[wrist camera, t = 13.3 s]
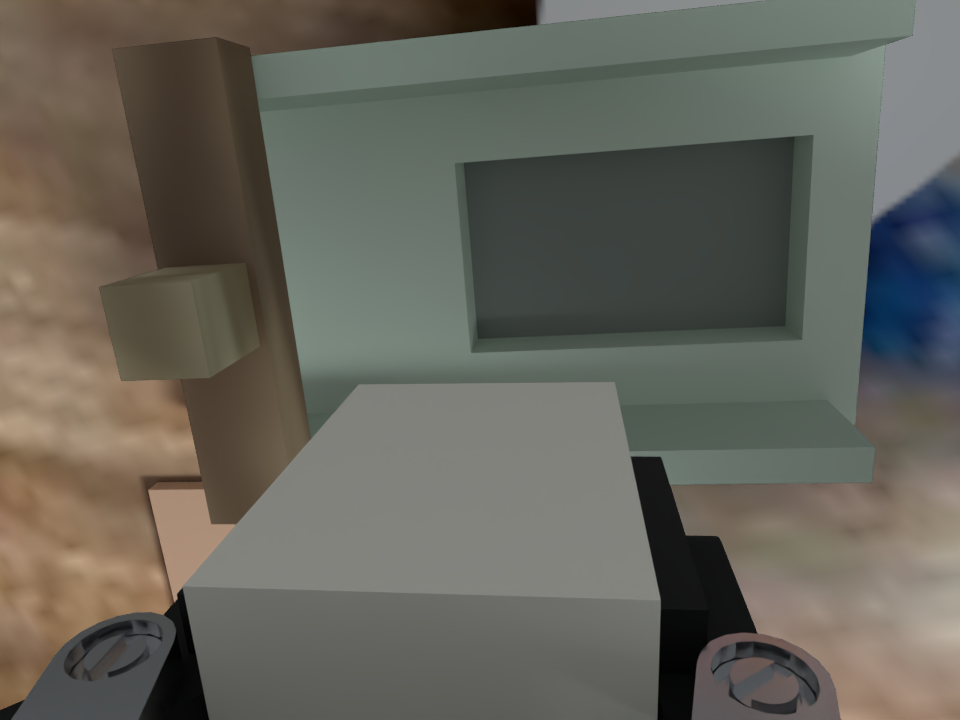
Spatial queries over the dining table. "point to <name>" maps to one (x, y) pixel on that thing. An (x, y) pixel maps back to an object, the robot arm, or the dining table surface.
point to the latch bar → (210, 267)
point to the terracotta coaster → (184, 529)
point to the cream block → (440, 566)
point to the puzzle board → (598, 221)
